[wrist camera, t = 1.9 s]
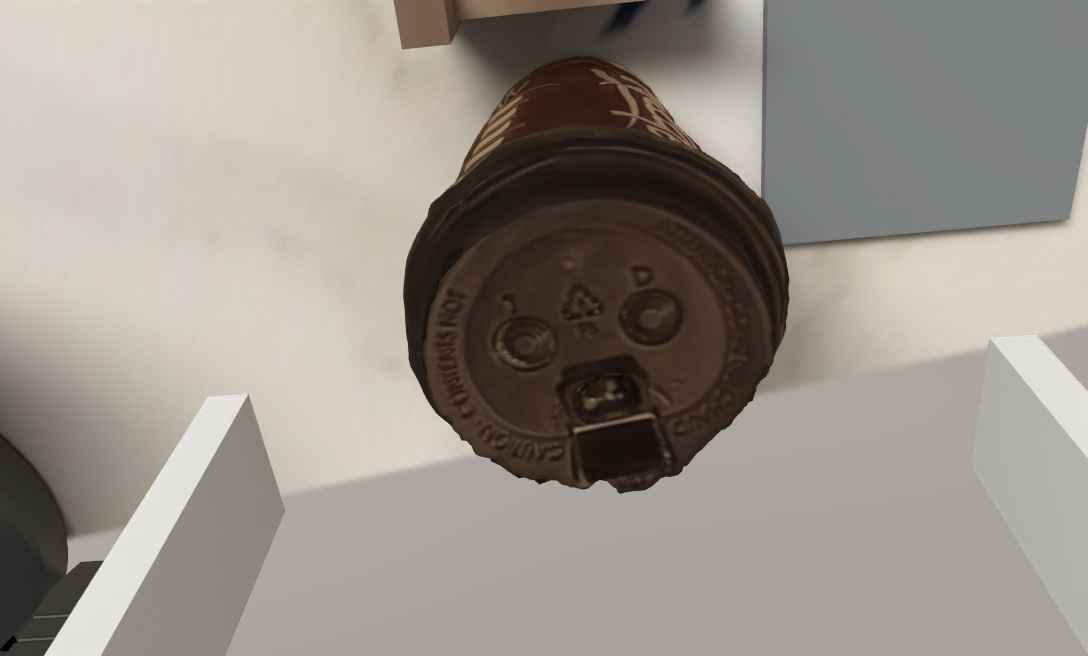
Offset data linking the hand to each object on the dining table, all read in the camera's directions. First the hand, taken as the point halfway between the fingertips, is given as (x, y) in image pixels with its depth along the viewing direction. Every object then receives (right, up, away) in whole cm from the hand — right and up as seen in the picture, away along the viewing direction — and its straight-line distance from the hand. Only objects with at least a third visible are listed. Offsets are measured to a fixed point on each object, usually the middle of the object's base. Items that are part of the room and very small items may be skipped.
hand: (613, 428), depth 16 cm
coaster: (+11, +10, +12) cm, 19 cm away
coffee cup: (0, +7, +14) cm, 16 cm away
